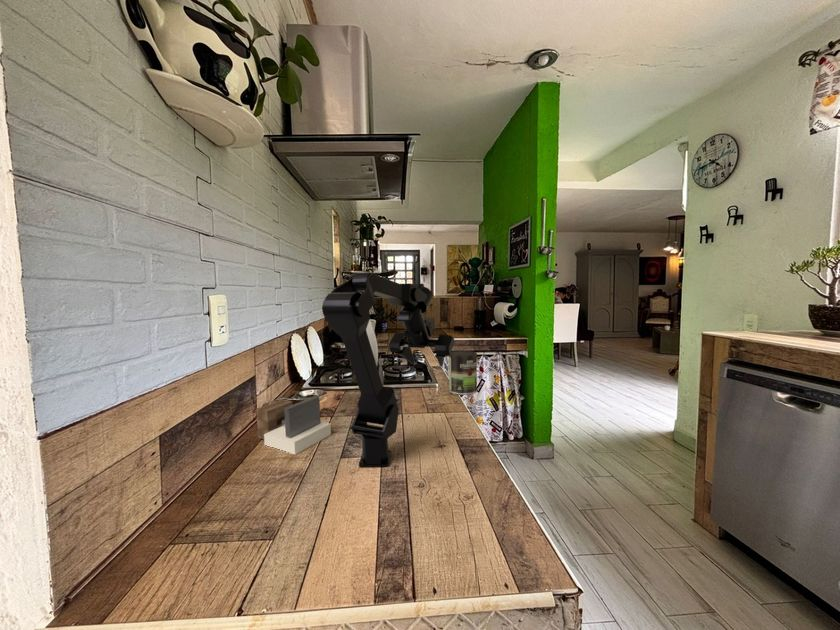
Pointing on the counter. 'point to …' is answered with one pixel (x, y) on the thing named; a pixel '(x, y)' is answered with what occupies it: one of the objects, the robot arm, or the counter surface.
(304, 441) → the door block
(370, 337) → the skyscraper
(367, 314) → the robot arm
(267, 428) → the block
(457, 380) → the transparent upright cylinder
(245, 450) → the counter surface
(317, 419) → the grey piece
